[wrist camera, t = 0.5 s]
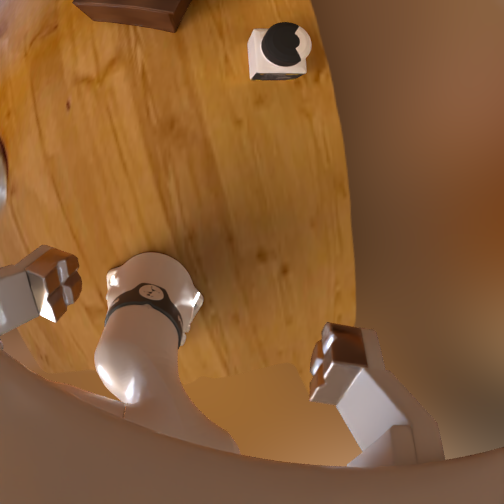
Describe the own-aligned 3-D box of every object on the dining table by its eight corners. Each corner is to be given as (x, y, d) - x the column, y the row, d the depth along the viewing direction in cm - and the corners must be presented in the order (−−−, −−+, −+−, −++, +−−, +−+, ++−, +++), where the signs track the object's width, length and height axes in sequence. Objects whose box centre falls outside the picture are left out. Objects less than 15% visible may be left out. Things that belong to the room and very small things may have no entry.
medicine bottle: (249, 81, 40) (263, 65, 29) (246, 41, 37) (259, 15, 26) (293, 80, 41) (319, 67, 30) (290, 42, 38) (314, 19, 27)
